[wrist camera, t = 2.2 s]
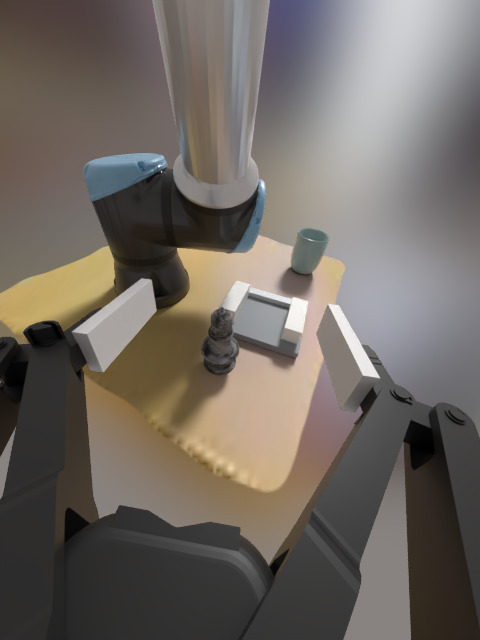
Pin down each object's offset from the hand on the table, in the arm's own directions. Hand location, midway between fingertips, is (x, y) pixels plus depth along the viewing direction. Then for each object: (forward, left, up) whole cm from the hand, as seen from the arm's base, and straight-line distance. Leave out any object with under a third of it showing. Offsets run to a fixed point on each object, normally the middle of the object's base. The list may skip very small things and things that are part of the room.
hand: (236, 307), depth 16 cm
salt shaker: (-4, +7, -19) cm, 20 cm away
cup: (+5, +43, -19) cm, 47 cm away
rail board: (0, +19, -19) cm, 26 cm away
